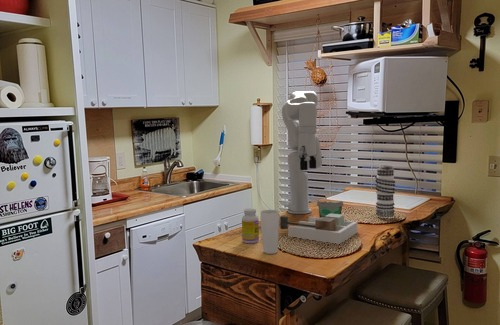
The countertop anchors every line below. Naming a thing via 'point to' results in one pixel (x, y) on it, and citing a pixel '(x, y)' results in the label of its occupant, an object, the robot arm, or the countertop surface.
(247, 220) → the supplement bottle
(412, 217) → the countertop surface
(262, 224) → the drinking glass
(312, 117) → the robot arm
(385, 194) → the decorative candle
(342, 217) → the sage block
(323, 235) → the white tray
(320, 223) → the brown block with stick
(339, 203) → the food container
